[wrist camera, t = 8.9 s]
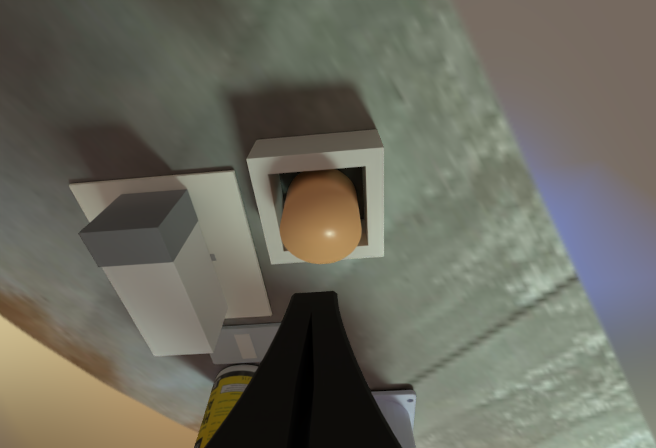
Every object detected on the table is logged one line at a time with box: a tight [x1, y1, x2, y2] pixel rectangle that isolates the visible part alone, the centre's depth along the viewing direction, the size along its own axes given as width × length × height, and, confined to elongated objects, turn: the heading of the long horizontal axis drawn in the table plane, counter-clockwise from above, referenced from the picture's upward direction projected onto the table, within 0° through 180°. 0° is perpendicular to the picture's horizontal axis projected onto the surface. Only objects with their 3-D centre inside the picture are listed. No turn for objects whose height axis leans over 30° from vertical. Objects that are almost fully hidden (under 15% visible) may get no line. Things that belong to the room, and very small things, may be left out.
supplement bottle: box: [194, 365, 258, 448], centre depth 24 cm, size 5×5×10 cm
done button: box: [280, 169, 362, 264], centre depth 16 cm, size 4×4×3 cm
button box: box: [246, 129, 384, 264], centre depth 17 cm, size 6×6×2 cm
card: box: [209, 323, 281, 364], centre depth 25 cm, size 4×6×1 cm, turn 95°
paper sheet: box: [69, 170, 272, 319], centre depth 21 cm, size 11×9×1 cm
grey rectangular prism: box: [78, 189, 228, 356], centre depth 19 cm, size 9×4×4 cm, turn 5°
